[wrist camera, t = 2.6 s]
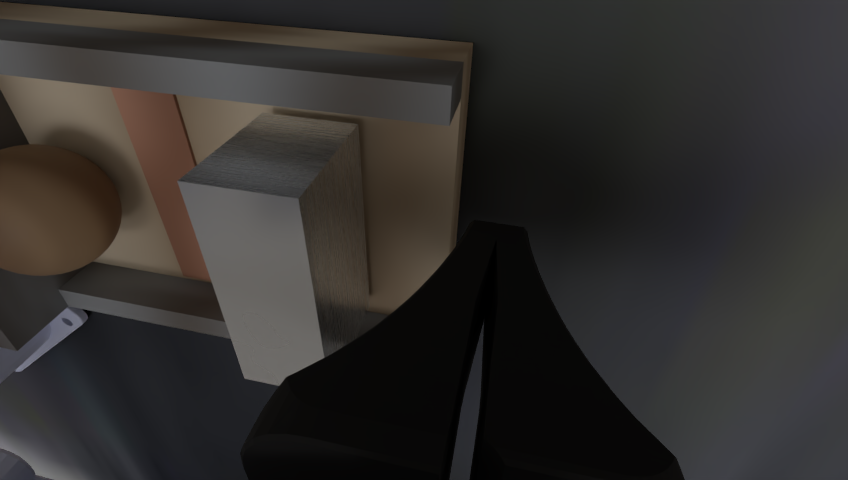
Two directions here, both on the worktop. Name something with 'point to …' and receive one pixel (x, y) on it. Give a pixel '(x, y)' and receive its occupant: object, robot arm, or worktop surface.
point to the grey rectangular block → (284, 240)
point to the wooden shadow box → (202, 153)
